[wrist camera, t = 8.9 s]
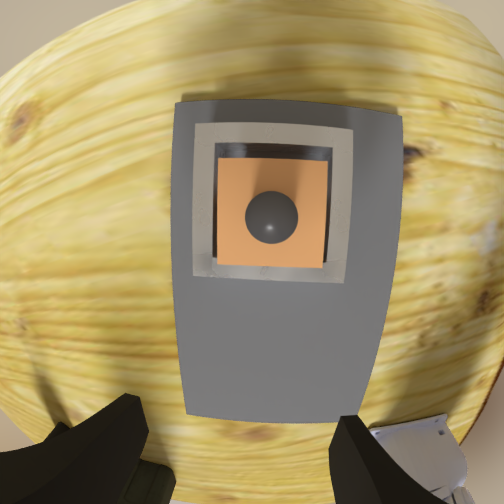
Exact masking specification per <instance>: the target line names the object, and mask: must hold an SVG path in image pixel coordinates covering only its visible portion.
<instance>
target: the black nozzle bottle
mask: <svg viewBox="0 0 504 504" xmlns="http://www.w3.org/2000/svg"><path fill="white" fill-rule="evenodd" d="M175 484H176V480H175V477H174V474H173V471H172V470H171V469H170V468H168V467H167V466H164V465H158V464H154V463H151V462H147V461H144V460H142V459H138V461H137V463H136V465H135V467H134V469H133V471H132V473H131V475H130V477H129V478H128V480H127V482H126V484H125V486H124V488H123V490H122V492H121V494H120V497H119V499H118V502H117V504H169V502H170V499H171V496H172V493H173V490H174V487H175Z"/></svg>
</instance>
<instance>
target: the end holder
mask: <svg viewBox="0 0 504 504" xmlns="http://www.w3.org/2000/svg"><path fill="white" fill-rule="evenodd" d="M225 151H247V152H279V153H297V154H312V155H322V161H328V170H327V203H326V223H325V240H324V254H323V266H322V268H302V267H273V266H247V265H223V264H217V195H218V158H225ZM352 176H353V130H351V129H343V128H334V127H325V126H314V125H302V124H286V123H259V122H224V123H197V124H195V140H194V162H193V201H192V251H193V276H201V277H217V278H234V279H252V280H272V281H295V282H322V283H344V277H345V269H346V260H347V251H348V240H349V229H350V215H351V199H352Z"/></svg>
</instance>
